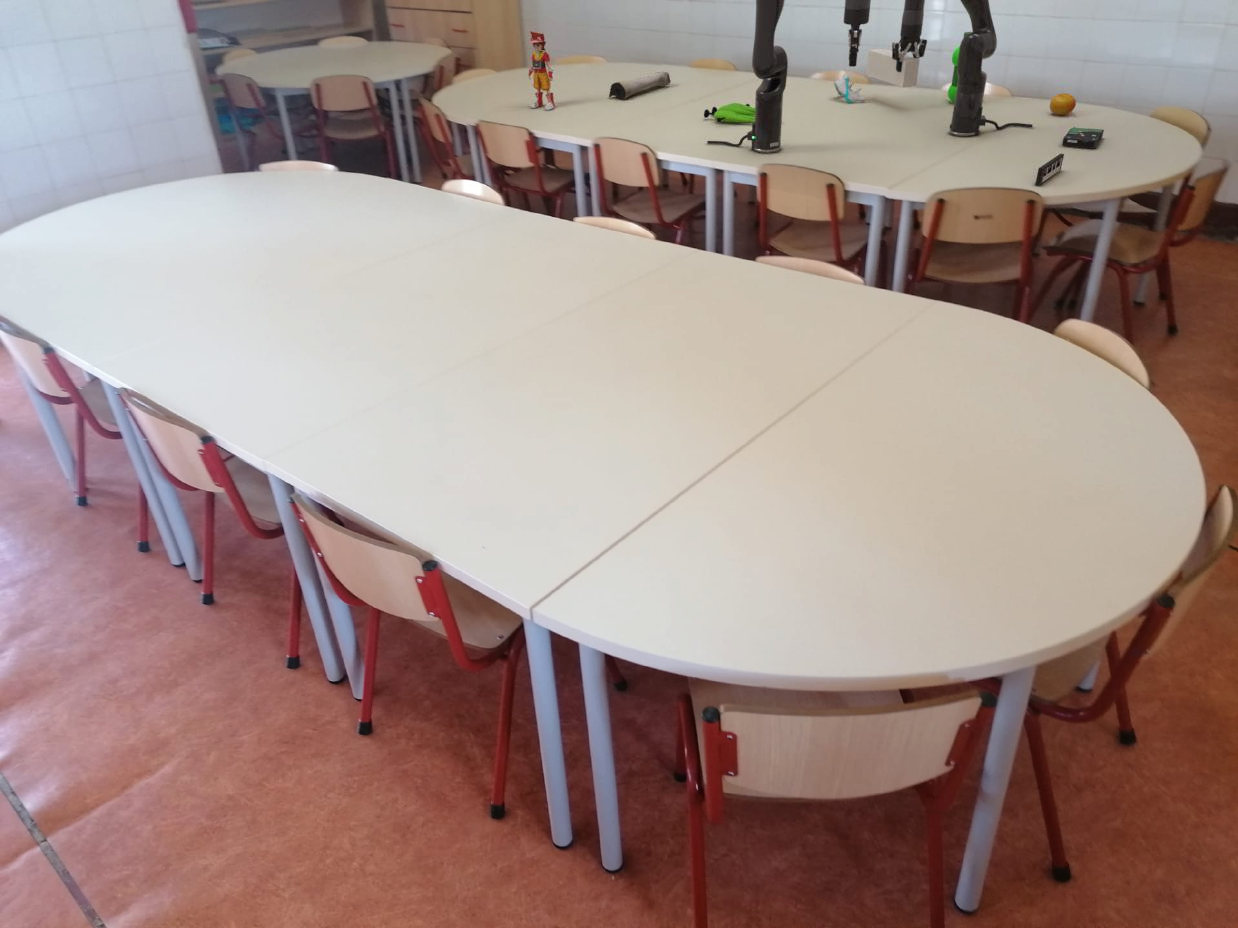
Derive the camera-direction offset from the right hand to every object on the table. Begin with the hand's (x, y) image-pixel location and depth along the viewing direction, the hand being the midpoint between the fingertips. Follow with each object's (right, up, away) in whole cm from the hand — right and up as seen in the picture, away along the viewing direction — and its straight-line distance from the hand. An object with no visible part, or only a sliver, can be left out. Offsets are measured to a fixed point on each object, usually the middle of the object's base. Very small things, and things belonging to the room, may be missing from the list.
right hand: (906, 70), depth 341 cm
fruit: (+55, -20, -9) cm, 59 cm away
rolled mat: (-100, +15, +56) cm, 115 cm away
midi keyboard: (+22, -62, -66) cm, 94 cm away
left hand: (-36, -24, -60) cm, 74 cm away
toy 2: (-60, -16, +8) cm, 63 cm away
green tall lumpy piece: (+25, -7, +13) cm, 29 cm away
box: (-3, +1, +10) cm, 11 cm away
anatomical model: (-16, 0, +26) cm, 31 cm away
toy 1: (-142, +2, +42) cm, 148 cm away
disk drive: (+47, -41, -38) cm, 73 cm away
